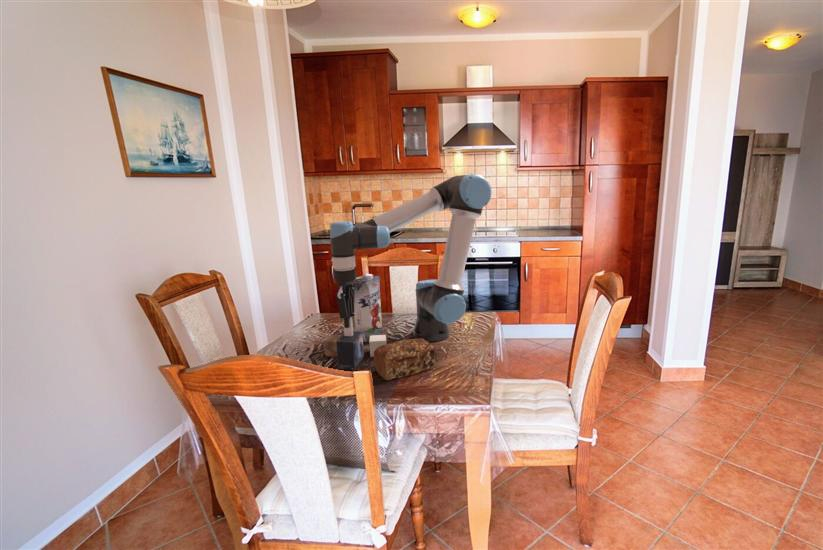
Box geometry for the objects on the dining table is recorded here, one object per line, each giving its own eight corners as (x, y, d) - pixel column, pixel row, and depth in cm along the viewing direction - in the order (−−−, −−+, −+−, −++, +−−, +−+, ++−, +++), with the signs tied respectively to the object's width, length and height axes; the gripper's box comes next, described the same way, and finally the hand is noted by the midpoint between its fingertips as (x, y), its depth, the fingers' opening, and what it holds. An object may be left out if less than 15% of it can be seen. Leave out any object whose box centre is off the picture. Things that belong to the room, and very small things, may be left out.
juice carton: (352, 340, 160) (347, 275, 154) (369, 332, 168) (365, 270, 162) (369, 344, 155) (364, 277, 149) (385, 335, 163) (382, 272, 157)
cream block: (386, 349, 149) (385, 334, 148) (386, 356, 144) (385, 340, 142) (370, 350, 149) (369, 335, 148) (370, 357, 143) (369, 341, 142)
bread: (386, 383, 123) (384, 353, 121) (373, 370, 133) (371, 342, 131) (437, 369, 132) (436, 341, 130) (421, 357, 141) (420, 331, 139)
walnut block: (347, 351, 149) (346, 336, 148) (338, 357, 144) (337, 342, 143) (333, 349, 151) (332, 334, 150) (325, 355, 146) (323, 340, 145)
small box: (355, 371, 133) (353, 341, 130) (337, 370, 134) (334, 341, 132) (365, 357, 143) (363, 330, 140) (348, 357, 144) (346, 330, 142)
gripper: (340, 264, 138) (345, 328, 143) (325, 272, 125) (331, 341, 130) (361, 264, 136) (365, 329, 141) (348, 272, 124) (352, 343, 129)
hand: (348, 335), depth 136 cm, fingers closed
